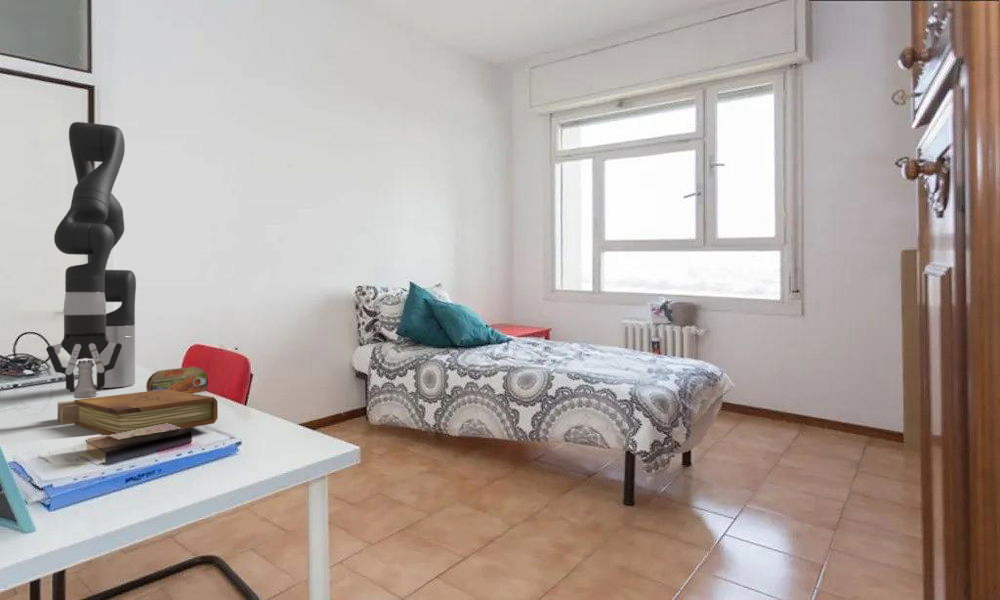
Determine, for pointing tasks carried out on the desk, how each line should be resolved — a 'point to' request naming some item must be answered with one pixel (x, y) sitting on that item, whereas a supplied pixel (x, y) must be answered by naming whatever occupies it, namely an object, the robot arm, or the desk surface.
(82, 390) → the rook chess piece
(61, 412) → the walnut block
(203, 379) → the tin
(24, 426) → the desk surface
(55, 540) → the desk surface
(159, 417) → the diary
